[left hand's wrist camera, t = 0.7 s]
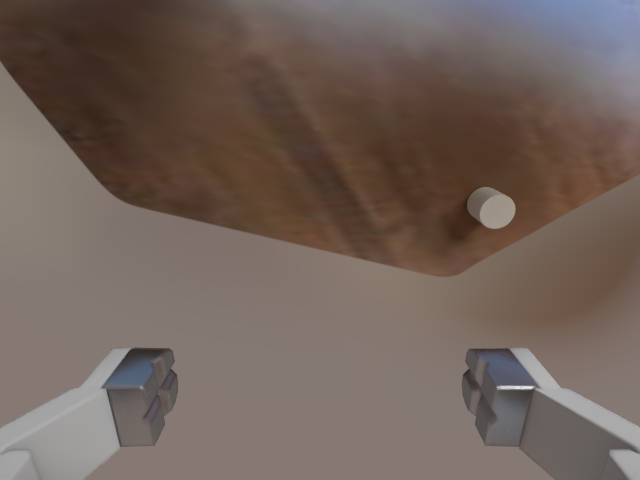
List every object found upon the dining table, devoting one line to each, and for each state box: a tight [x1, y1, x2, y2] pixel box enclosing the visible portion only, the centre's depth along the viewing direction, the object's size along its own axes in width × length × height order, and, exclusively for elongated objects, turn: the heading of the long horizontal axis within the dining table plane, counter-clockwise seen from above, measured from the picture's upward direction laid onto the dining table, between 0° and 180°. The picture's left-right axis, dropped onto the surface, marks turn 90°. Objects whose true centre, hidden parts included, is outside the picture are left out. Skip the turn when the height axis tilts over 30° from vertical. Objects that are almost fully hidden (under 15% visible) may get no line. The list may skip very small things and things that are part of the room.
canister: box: [467, 187, 515, 229], centre depth 49 cm, size 4×4×4 cm
